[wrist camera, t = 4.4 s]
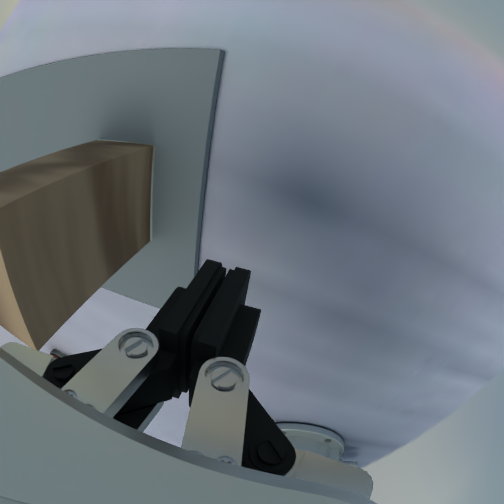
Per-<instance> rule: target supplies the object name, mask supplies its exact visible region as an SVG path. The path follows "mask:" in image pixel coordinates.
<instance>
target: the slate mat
mask: <svg viewBox="0 0 504 504" xmlns="http://www.w3.org/2000/svg"><path fill="white" fill-rule="evenodd" d="M223 57H224V51H222V50H218V49H149V50H134V51H123V52H114V53H106V54H98V55H92V56H85V57H80V58H74V59H69V60H64V61H59V62H55V63H50V64H46V65H42V66H38V67H34V68H31V69H27V70H24V71H20V72H17V73H14V74H11V75H7V76H4V77H1V78H0V172H2V171H5V170H7V169H10V168H12V167H15V166H17V165H20V164H22V163H25V162H28V161H30V160H33V159H36V158H39V157H42V156H45V155H48V154H51V153H54V152H57V151H60V150H63V149H66V148H70V147H73V146H76V145H80V144H83V143H87V142H91V141H94V140H98V139H102V140H114V141H125V142H135V143H144V144H153V145H156V148H155V163H154V181H153V212H152V240H151V241H150V242H149V243H148V244H147V245H145V246H144V247H143V248H142V249H141V250H140V251H139V252H138V253H137V254H135V255H134V256H133V257H132V258H131V259H130V260H129V261H128V262H127V263H126V264H124V265H123V266H122V267H121V268H120V269H119V270H118V271H117V272H116V273H115V274H114V275H113V276H112V277H111V278H109V279H108V280H107V281H106V282H105V283H104V284H103V285H102V286H101V287H102V288H105V289H107V290H110V291H112V292H115V293H118V294H120V295H123V296H126V297H129V298H131V299H134V300H137V301H140V302H142V303H145V304H148V305H151V306H154V307H157V308H160V309H161V308H162V306H163V305H164V304H165V302H166V301H167V300H168V298H169V297H170V296H171V294H172V293H173V292H174V290H175V289H176V288H177V287H179V286H180V287H183V288H187V287H188V285H189V284H190V282H191V281H192V280H193V278H194V277H195V275H196V274H197V273H198V260H199V247H200V235H201V224H202V214H203V204H204V194H205V185H206V176H207V167H208V159H209V151H210V143H211V135H212V128H213V121H214V114H215V107H216V100H217V94H218V87H219V81H220V75H221V69H222V63H223Z"/></svg>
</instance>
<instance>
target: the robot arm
mask: <svg viewBox="0 0 504 504" xmlns="http://www.w3.org/2000/svg"><path fill="white" fill-rule="evenodd" d="M250 274H251V271H250V270H246V269H242V268H239V267H236V268H235V270H231V269H230V270H229V271H228V273H227V275H226V268H224V267H222V263H220V262H216V261H212V260H208V259H207V260H206V261H205V263H204V264H203V266H202V267H201V268H200V270H199V271H198V273H197V274H196V275H195V277H194V278H193V280H192V281H191V282H190V284H189V285H188V287H187V288H183V287H180V286H179V287H177V288H176V289H175V290H174V292H173V293H172V294H171V296H170V297H169V298H168V300H167V301H166V302H165V304H164V305H163V306H162V308H161V309H160V311H159V312H158V313H157V315H156V316H155V317H154V319H153V320H152V322H151V323H150V324H149V326H148V327H147V328H146V330H145V329H141V328H131V329H127V330H124V331H122V332H121V333H119V334H118V335H117V336H116V337H115V338H114V339H113V340H112V341H110V342H109V343H108V344H107V345H106V346H105V347H104V348H103V349H99V350H94V351H89V352H84V353H79V354H74V355H69V356H64V357H60V358H57V359H54V357H53V355H49V354H46V353H43V352H40V351H37V350H35V349H32V348H29V347H26V346H23V345H21V344H18V343H14V342H10V343H6V344H5V345H3V346H2V347H1V348H0V504H376V503H375V502H373V501H372V500H370V496H371V493H372V489H373V481H372V478H371V476H370V475H369V474H368V473H367V472H366V471H364V470H362V469H360V468H358V467H357V466H358V463H357V462H354V461H341V459H338V458H340V457H341V456H342V454H343V452H344V442H343V440H342V438H341V437H340V436H338V435H337V434H335V433H334V432H332V431H329V430H327V429H324V428H321V427H317V426H312V425H306V424H297V423H279V424H276V423H275V422H274V421H273V420H272V418H271V417H270V416H269V414H268V413H267V412H266V411H265V409H264V408H263V407H262V405H261V404H260V403H259V401H258V400H257V399H256V397H255V396H254V395H253V393H252V392H251V391H250V389H249V382H250V378H249V373H248V371H247V369H246V367H245V365H246V362H247V359H248V356H249V353H250V349H251V346H252V343H253V340H254V336H255V333H256V329H257V325H258V321H259V317H260V313H261V310H260V309H257V308H253V307H249V306H245V300H246V294H247V289H248V284H249V279H250ZM225 275H226V277H225ZM188 390H189V406H190V412H189V416H188V420H187V425H186V429H185V433H184V437H183V442H182V446H181V448H180V447H177V446H175V445H172V444H169V443H167V442H164V441H162V440H159V439H157V438H154V437H152V436H149V435H147V434H145V433H143V431H144V430H145V429H146V427H147V426H148V425H149V423H150V422H151V421H152V419H153V418H154V417H155V415H156V414H157V413H158V412H159V410H160V409H161V408H162V406H163V404H164V401H167V400H170V399H172V397H175V398H178V399H179V397H180V395H181V393H182V392H185V393H187V391H188Z"/></svg>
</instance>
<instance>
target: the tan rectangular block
mask: <svg viewBox="0 0 504 504" xmlns="http://www.w3.org/2000/svg"><path fill="white" fill-rule="evenodd" d="M155 148H156V145H153V144H144V143H135V142H125V141H114V140H102V139H98V140H94V141H91V142H87V143H83V144H80V145H76V146H73V147H70V148H66V149H63V150H60V151H57V152H54V153H51V154H48V155H45V156H42V157H39V158H36V159H33V160H30V161H28V162H25V163H22V164H20V165H17V166H15V167H12V168H10V169H7V170H5V171H2V172H0V325H1V326H2V327H3V328H5V329H6V330H7V331H9V332H10V333H11V334H13V335H14V336H15V337H17V338H18V339H19V340H21V341H22V342H24V343H25V344H26V345H28V346H29V347H31V348H32V349H35V350H37V351H39V350H40V349H41V348H42V346H43V345H44V344H45V343H46V342H47V341H48V340H49V339H50V338H51V337H52V336H53V335H54V334H55V332H56V331H57V330H58V329H59V328H60V327H61V326H62V325H63V324H64V323H65V322H66V321H67V320H68V319H69V318H70V317H71V316H72V315H73V314H74V313H75V312H76V311H77V310H78V309H79V308H80V307H81V306H82V305H83V304H84V303H85V302H86V301H87V300H88V299H89V298H90V297H91V296H92V295H93V294H94V293H95V292H96V291H97V290H98V289H99V288H100V287H101V286H102V285H103V284H104V283H105V282H106V281H107V280H108V279H109V278H111V277H112V276H113V275H114V274H115V273H116V272H117V271H118V270H119V269H120V268H121V267H122V266H123V265H124V264H126V263H127V262H128V261H129V260H130V259H131V258H132V257H133V256H134V255H135V254H137V253H138V252H139V251H140V250H141V249H142V248H143V247H144V246H145V245H147V244H148V243H149V242H150V241H151V240H152V212H153V181H154V163H155Z"/></svg>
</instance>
